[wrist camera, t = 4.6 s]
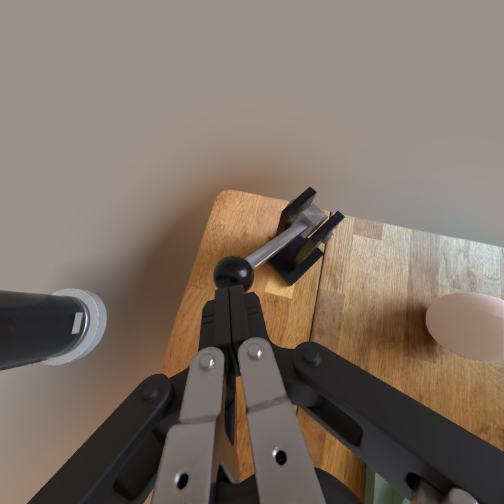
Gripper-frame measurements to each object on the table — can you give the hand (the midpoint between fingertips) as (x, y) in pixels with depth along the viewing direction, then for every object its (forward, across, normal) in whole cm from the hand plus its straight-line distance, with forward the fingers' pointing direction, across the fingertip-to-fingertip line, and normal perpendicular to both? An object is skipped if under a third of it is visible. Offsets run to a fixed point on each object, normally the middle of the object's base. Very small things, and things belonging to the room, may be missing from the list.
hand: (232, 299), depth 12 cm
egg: (+11, -29, +23) cm, 39 cm away
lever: (+9, -4, +3) cm, 11 cm away
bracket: (+22, -9, +12) cm, 27 cm away
